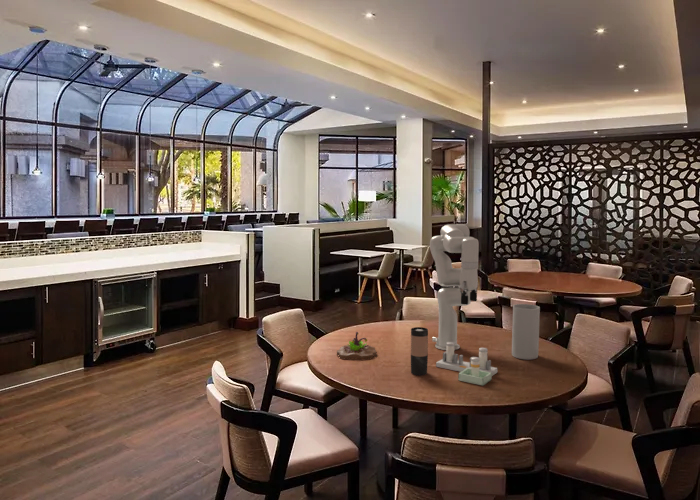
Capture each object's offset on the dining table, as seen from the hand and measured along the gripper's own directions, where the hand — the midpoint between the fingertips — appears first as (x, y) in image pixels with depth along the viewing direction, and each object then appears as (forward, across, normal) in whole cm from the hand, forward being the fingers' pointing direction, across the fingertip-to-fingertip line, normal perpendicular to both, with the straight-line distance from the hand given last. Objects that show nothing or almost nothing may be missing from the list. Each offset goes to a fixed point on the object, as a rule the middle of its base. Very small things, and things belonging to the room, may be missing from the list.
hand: (468, 302), depth 243 cm
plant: (+31, +13, -54) cm, 63 cm away
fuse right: (+28, +4, +9) cm, 30 cm away
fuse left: (+28, +4, -7) cm, 29 cm away
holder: (+30, +4, +1) cm, 31 cm away
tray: (+30, +15, +10) cm, 35 cm away
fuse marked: (+30, +15, +10) cm, 35 cm away
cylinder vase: (+31, -32, +16) cm, 47 cm away
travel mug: (+31, +21, -14) cm, 40 cm away
